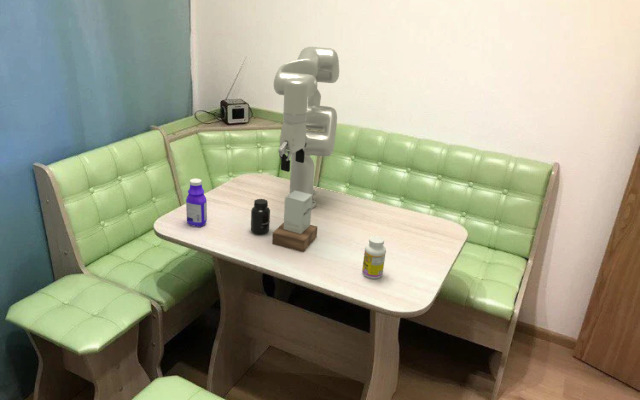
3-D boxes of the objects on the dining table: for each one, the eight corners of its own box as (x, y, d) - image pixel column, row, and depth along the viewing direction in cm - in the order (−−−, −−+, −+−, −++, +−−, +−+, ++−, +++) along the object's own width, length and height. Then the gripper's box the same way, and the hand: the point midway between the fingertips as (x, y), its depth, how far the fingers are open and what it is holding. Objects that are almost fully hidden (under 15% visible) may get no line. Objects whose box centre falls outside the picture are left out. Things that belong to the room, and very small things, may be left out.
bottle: (209, 222, 184) (208, 179, 177) (202, 228, 179) (200, 184, 172) (192, 218, 185) (190, 175, 178) (184, 225, 180) (182, 181, 173)
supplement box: (301, 234, 171) (303, 201, 165) (282, 229, 173) (284, 196, 168) (310, 226, 177) (313, 194, 172) (292, 221, 179) (294, 189, 174)
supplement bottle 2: (360, 268, 162) (364, 233, 156) (380, 268, 162) (385, 234, 157) (363, 279, 156) (368, 244, 150) (384, 280, 156) (389, 244, 151)
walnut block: (286, 231, 183) (287, 219, 181) (316, 238, 179) (317, 226, 177) (272, 245, 172) (272, 232, 170) (303, 253, 169) (304, 240, 167)
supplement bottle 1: (266, 236, 177) (267, 206, 172) (248, 233, 178) (248, 203, 173) (271, 228, 183) (272, 199, 178) (254, 225, 184) (254, 196, 179)
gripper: (297, 109, 168) (295, 156, 176) (270, 121, 154) (269, 171, 161) (317, 113, 165) (314, 161, 173) (291, 125, 151) (289, 177, 159)
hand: (292, 166), depth 167 cm, fingers open, 9 cm apart
